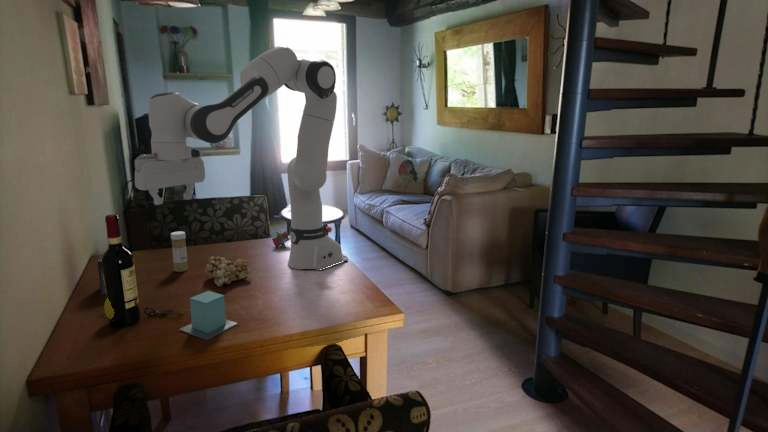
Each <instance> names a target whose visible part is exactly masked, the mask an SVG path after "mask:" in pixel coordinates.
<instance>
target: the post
mask: <svg viewBox="0 0 768 432" xmlns="http://www.w3.org/2000/svg"><path fill="white" fill-rule="evenodd" d="M238 325H239V323H238V322H236V321H232V320H229V319H226V324H225V325H223V326H221V327H219V328H217V329H215V330H213V331H211V332H209V333H206V332H203V331H201V330H198V329H195V328H192V322H191V323H190V324H187V325H185V326H183V327H181V328H179V331H180V332H182V333H186V334H189V335H191V336H194V337H197V338H199V339H201V340H204V341H209V340H210V339H213V338H214V337H217V336H218V335H220V334H222V333H224V332H226V331H228V330H230V329H232V328H234V327H236V326H238Z"/></svg>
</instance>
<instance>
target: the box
mask: <svg viewBox="0 0 768 432" xmlns="http://www.w3.org/2000/svg"><path fill="white" fill-rule="evenodd" d="M104 254H105V253H100V254H99V257H98V260H97V269H98V270H97V271H98V278H99V288H100V289H99V290H100V294H101V295H106V294H105V285H104V280H103V274H102V258H103V255H104Z"/></svg>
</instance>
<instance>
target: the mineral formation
mask: <svg viewBox="0 0 768 432" xmlns="http://www.w3.org/2000/svg"><path fill="white" fill-rule="evenodd" d="M248 267H249V260H247V259H246V260H245V259H242V258H237V260H236V262H235V261H232V260H228V259H226V258H225V257H222V256H221V257H220V256H216V257H215V256H210V257H209V258H208V263H207V264H206V268H205V269H204V271H205V274H206V275H208V276H209V277H214V280H213V281H214V284H216V286H217V287H219V288H221V287H223V285H225V284H226V285H229V284H230V285H231V283H232V282H234V281H240V280H243V279H245V278H246V275H247V276H248V275H249V274H250V275H251V274H252V271H253V270H251V269H249V268H248Z"/></svg>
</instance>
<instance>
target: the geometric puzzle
mask: <svg viewBox="0 0 768 432" xmlns="http://www.w3.org/2000/svg"><path fill="white" fill-rule="evenodd" d="M280 232H281V233H280ZM275 235H276V236H274V237H272V243H273V245H274V247H275V249H278V248H279V247H284V248H287V245H286V243H288V242H289V241H291V240H290V234H288V233H287V231H283V232H282V231H279V232H278V231H275Z"/></svg>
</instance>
